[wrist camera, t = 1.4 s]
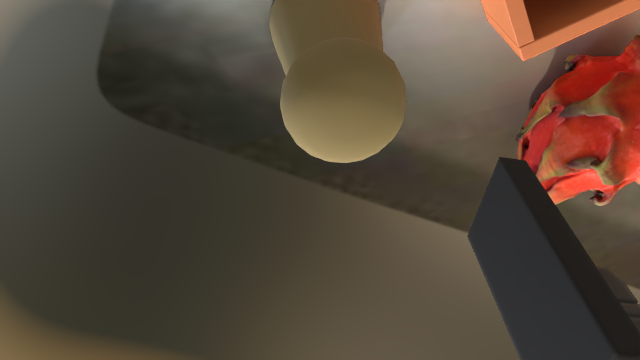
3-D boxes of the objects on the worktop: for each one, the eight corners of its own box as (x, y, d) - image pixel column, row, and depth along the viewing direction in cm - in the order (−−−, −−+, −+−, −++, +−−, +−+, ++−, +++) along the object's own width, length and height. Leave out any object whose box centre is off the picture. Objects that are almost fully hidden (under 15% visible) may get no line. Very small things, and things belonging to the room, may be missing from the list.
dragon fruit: (671, 21, 36) (498, 133, 41) (651, -30, 29) (446, 113, 35) (764, 140, 33) (564, 244, 38) (766, 116, 26) (522, 247, 32)
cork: (383, -37, 31) (431, 45, 22) (378, 72, 35) (418, 181, 26) (265, -32, 31) (264, 52, 22) (272, 77, 34) (275, 189, 25)
